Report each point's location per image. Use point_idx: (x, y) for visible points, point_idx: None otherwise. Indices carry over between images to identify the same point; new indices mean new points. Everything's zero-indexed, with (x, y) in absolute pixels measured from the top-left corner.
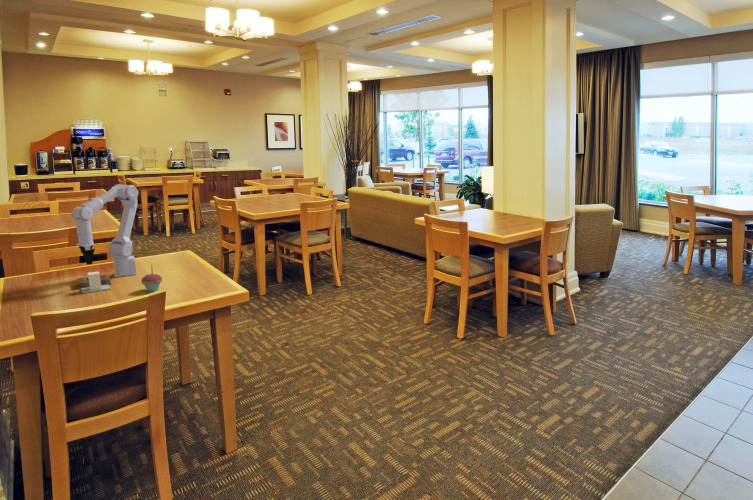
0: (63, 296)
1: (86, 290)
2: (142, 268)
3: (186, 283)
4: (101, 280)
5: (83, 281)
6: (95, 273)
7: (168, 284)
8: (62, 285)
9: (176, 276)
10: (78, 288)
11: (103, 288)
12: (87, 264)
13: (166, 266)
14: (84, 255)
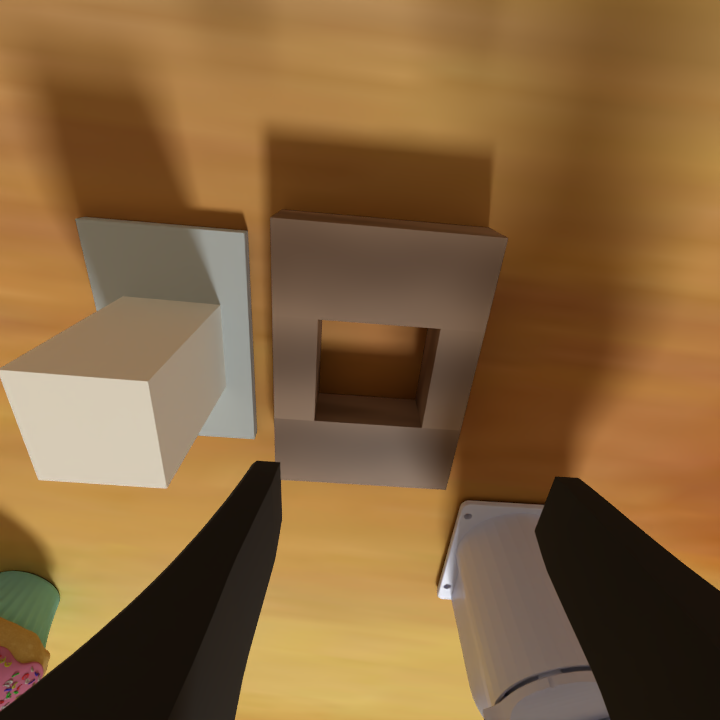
0: (46, 7)
1: (133, 266)
2: None
3: None
4: (275, 423)
5: (334, 285)
6: (64, 448)
7: None
8: (558, 65)
9: (256, 690)
10: (280, 211)
11: None
12: (253, 468)
13: None
14: (94, 653)
